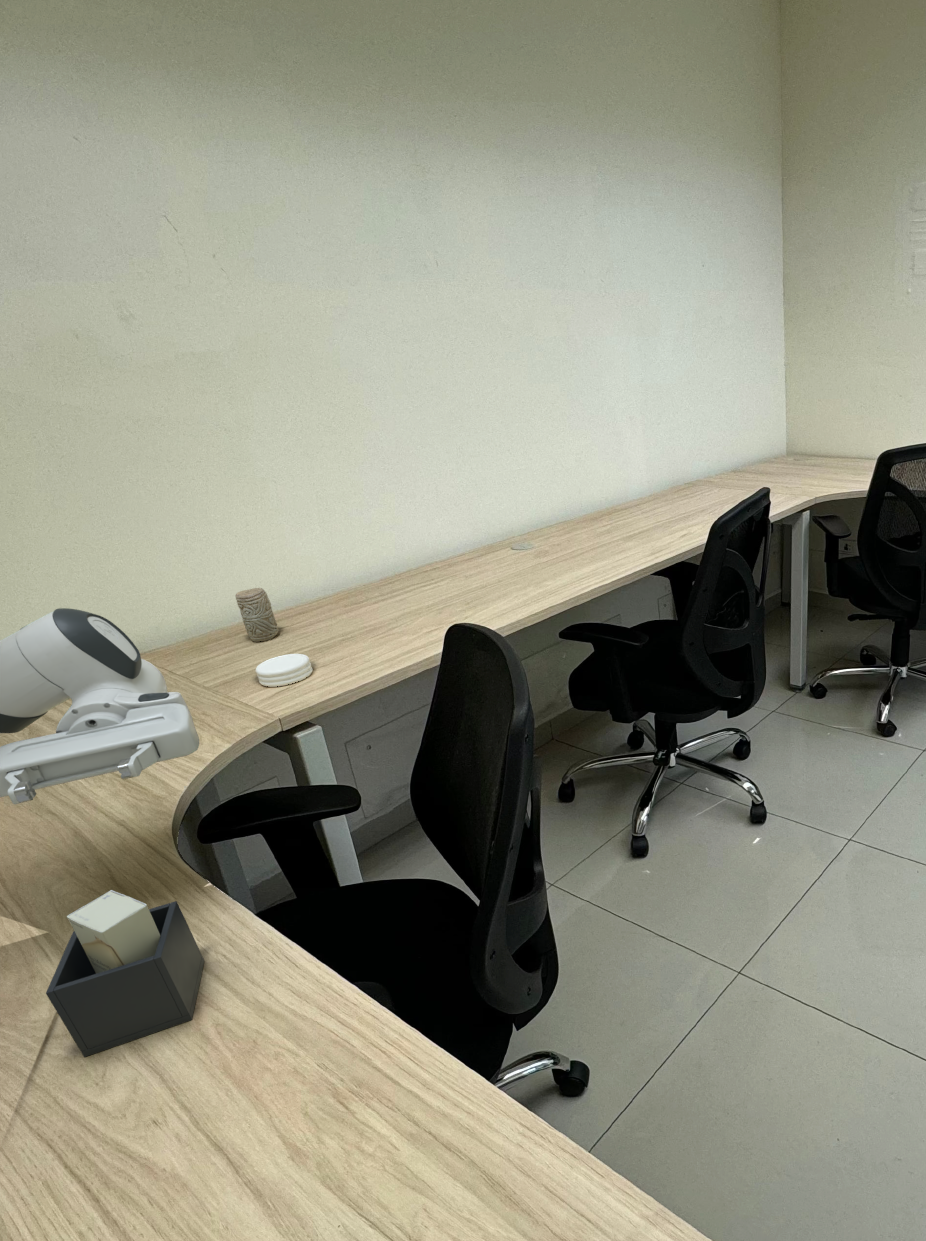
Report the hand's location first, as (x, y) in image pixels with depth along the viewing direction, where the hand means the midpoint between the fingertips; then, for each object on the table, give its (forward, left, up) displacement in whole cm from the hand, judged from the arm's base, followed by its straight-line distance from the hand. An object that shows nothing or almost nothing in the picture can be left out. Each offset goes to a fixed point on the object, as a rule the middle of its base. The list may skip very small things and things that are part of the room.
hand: (74, 784), depth 81 cm
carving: (+5, +109, -22) cm, 111 cm away
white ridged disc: (+11, +79, -22) cm, 83 cm away
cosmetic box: (+2, -12, -21) cm, 24 cm away
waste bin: (+2, -12, -22) cm, 25 cm away
